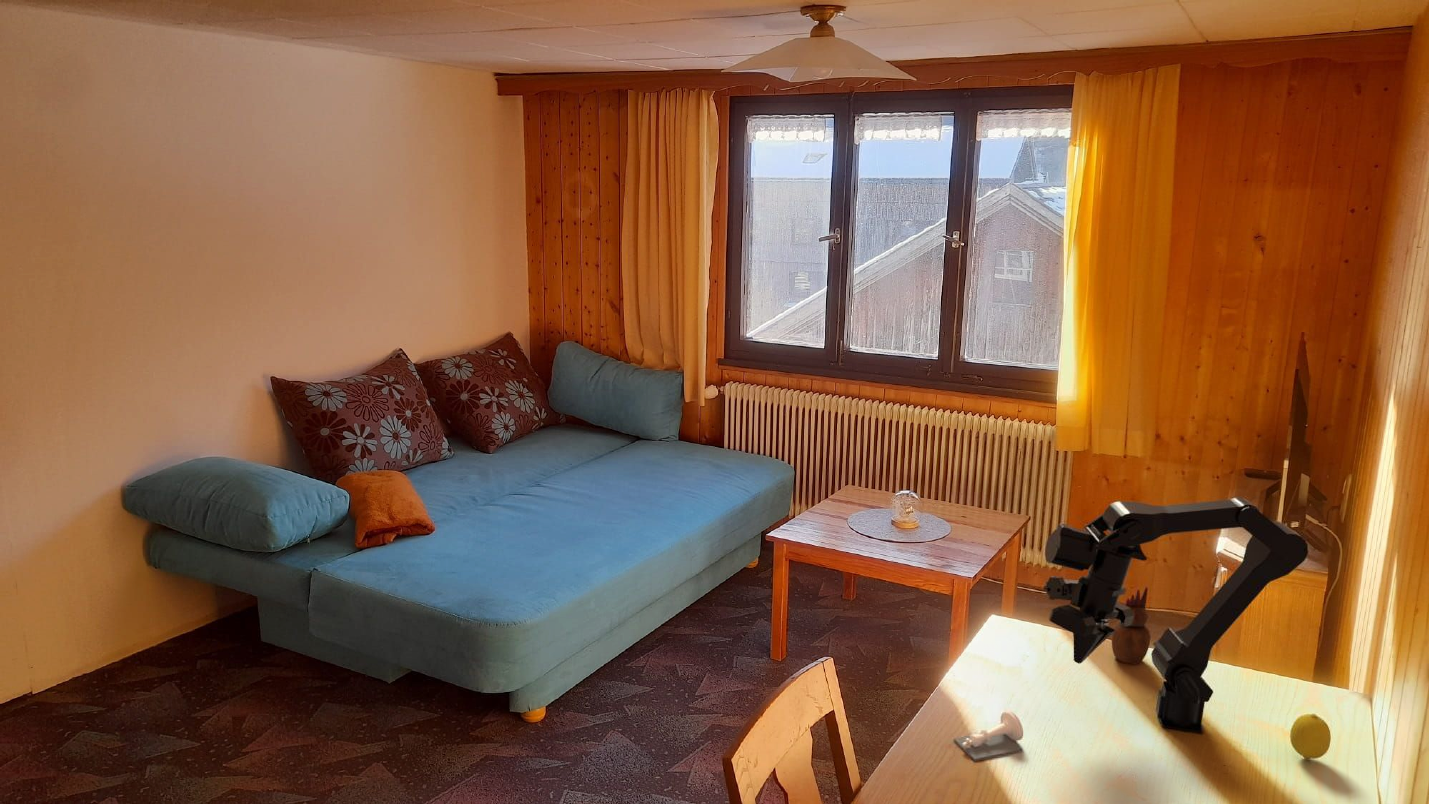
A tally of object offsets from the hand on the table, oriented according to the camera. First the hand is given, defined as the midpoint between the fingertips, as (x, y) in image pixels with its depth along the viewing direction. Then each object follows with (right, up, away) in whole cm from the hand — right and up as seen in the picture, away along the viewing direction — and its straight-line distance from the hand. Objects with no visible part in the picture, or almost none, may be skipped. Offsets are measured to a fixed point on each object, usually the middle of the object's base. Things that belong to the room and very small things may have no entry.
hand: (1077, 662), depth 170 cm
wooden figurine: (+18, -6, +24) cm, 31 cm away
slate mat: (-17, -12, -6) cm, 21 cm away
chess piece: (-12, -9, -4) cm, 16 cm away
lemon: (+34, -14, -8) cm, 38 cm away
